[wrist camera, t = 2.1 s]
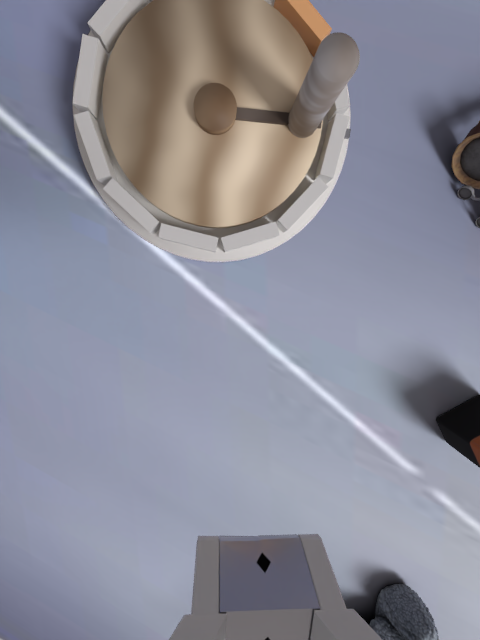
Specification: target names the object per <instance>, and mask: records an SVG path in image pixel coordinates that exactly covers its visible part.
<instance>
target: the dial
mask: <svg viewBox="0 0 480 640" xmlns="http://www.w3.org/2000/svg"><path fill="white" fill-rule="evenodd" d="M358 64H359V50H358V47H357V44H356V43H355V41H354V40H353V39H352V38H351V37H350V36H348V35H347V34H344V33H332V34H330V35H328V36H327V37H325V38H324V39H323V40H322V42H321V43H320V45H319V47H318V50H317V52H316V54H315V56H314V59H313V58H312V56H311V54H310V52H309V50H308V48H307V46H306V44H305V43H304V41H303V39H302V38H301V36H300V35H299V33H298V32H297V31H296V29H295V28H294V27H293V26H292V24H291V23H290V22H289V21H288V20H287V19H286V18H285V17H284V16H283V15H282V14H281V13H280V12H279V11H278V10H276V9H275V8H274V7H272V6H271V5H270V4H268V3H267V2H266V1H264V0H153V1H152V2H150V3H149V4H147V5H146V6H145V7H144V8H143V9H142V10H140V11H139V12H138V13H137V14H136V15H135V16H134V17H133V18H132V20H131V21H130V22H129V23H128V24H127V25H126V27H125V28H124V30H123V31H122V33H121V35H120V36H119V38H118V39H117V41H116V44H115V46H114V48H113V50H112V52H111V55H110V58H109V61H108V64H107V67H106V72H105V78H104V83H103V98H102V103H103V117H104V122H105V127H106V133H107V136H108V139H109V142H110V145H111V148H112V150H113V153H114V155H115V157H116V159H117V161H118V163H119V165H120V167H121V168H122V170H123V172H124V173H125V175H126V176H127V178H128V179H129V180H130V181H131V183H132V184H133V185H134V186H135V188H136V189H137V190H138V191H139V192H140V193H141V194H142V195H143V196H144V197H145V198H146V199H147V200H148V201H149V202H151V203H152V204H153V205H154V206H156V207H157V208H158V209H160V210H161V211H163V212H164V213H166V214H168V215H169V216H171V217H173V218H175V219H178V220H180V221H182V222H185V223H188V224H192V225H195V226H200V227H207V228H229V227H236V226H240V225H244V224H247V223H250V222H253V221H255V220H257V219H260V218H262V217H263V216H265V215H267V214H268V213H270V212H272V211H273V210H274V209H276V208H277V207H278V206H279V205H281V204H282V203H283V202H284V201H285V200H286V199H287V198H288V197H289V196H290V195H291V194H292V193H293V192H294V191H295V189H296V188H297V187H298V185H299V184H300V183H301V181H302V180H303V179H304V177H305V175H306V173H307V172H308V170H309V168H310V166H311V164H312V162H313V159H314V157H315V154H316V152H317V148H318V145H319V141H320V137H321V131H322V124H323V118H324V117H325V115H326V114H327V112H328V111H329V110H330V108H331V107H332V105H333V104H334V102H335V101H336V99H337V98H338V96H339V95H340V93H341V92H342V91H343V89H344V88H345V86H346V85H347V83H348V82H349V80H350V79H351V77H352V76H353V74H354V73H355V71H356V70H357V67H358Z"/></svg>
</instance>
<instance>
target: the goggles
mask: <svg viewBox="0 0 480 640" xmlns="http://www.w3.org/2000/svg"><path fill="white" fill-rule="evenodd" d="M452 169H453V172H454V175H455V176H456V178H457V179H458V180H459V181H460V182H461V183H462V184H464V185H466V186H462V187H461V188H460V189H459V190H458V193H457V194H458V197H459V198H460V199H463V200H468V199H470V198H472V200H477V201H480V198H476V197H475V195H474V189H480V121H479V123H478V124H477V125H476V126H475V127H474V128H473V129H471V131H470V132H469V133H468V135H467V136H466V138H465V139H464V140H463V142H462V143H460V144H459V145H458V146H457V148H456V150H455V152H454V154H453V156H452ZM473 188H474V189H473ZM475 223H476V226H477V227H478V228H480V217H478V218H477V220H476V222H475Z"/></svg>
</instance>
